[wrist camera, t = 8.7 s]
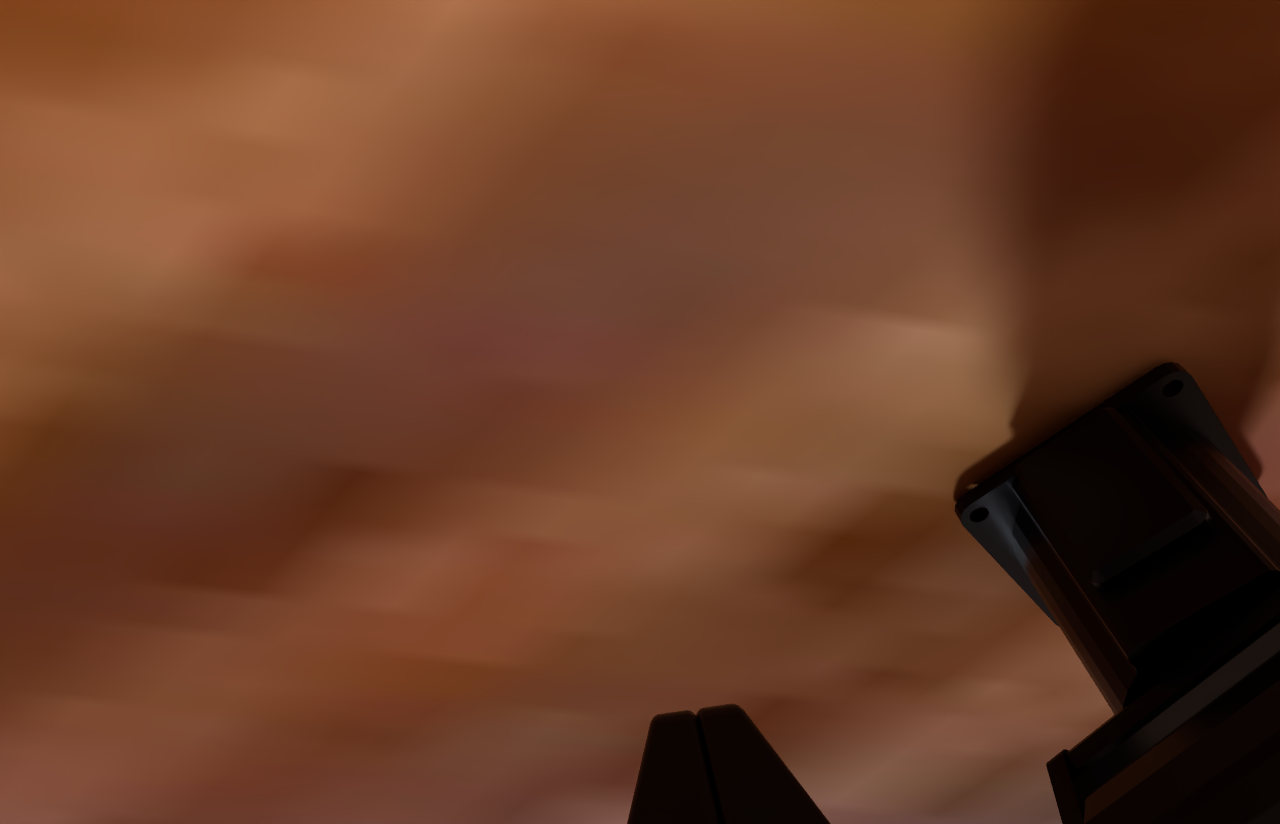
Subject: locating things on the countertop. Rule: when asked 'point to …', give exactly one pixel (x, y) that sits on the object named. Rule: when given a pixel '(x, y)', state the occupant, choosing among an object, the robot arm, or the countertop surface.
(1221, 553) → the robot arm
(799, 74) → the countertop surface
